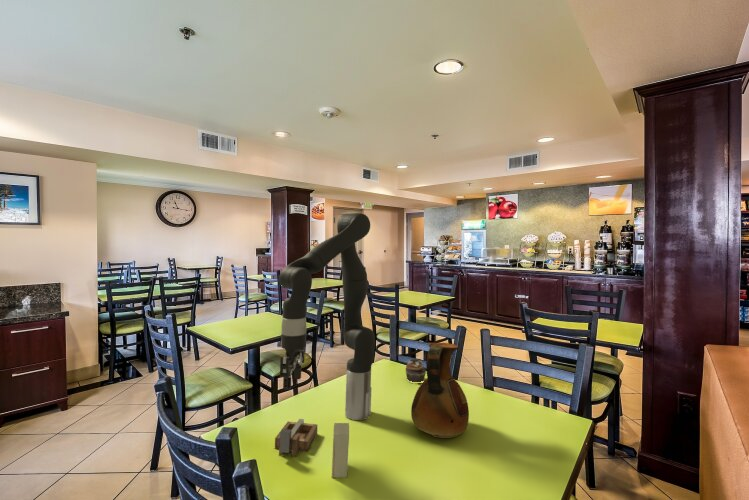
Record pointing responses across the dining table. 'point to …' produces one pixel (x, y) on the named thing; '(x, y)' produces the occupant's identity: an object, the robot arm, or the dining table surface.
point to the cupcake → (415, 370)
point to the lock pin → (289, 436)
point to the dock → (299, 438)
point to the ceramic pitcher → (440, 396)
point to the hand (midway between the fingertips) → (292, 383)
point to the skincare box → (340, 449)
